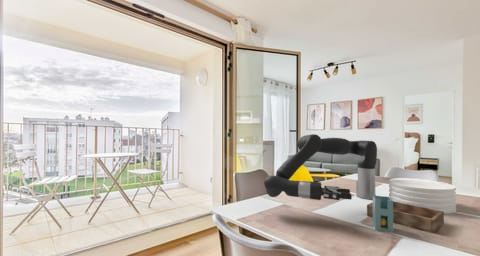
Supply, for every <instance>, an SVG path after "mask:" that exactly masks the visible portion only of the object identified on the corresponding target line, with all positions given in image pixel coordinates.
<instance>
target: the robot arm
mask: <svg viewBox="0 0 480 256" xmlns="http://www.w3.org/2000/svg"><path fill="white" fill-rule="evenodd" d="M296 143H297V148H298V149H299V151H297V152H296V153H294V154H293V155H292V156H290V157H289V158H287V159H285V161H284V162H283V163H282V164H281V165H280V166H279V167H278V169H277V170H276V172H275V175H269V176H267V177H265V179H264V182H263V184H264V187H265V192H266V194H267V196H269V197H271V198H277V197H278V196H280V195H281V194H282V193H285V194H286V196H288V197H292V198H301V199H306V200H314V201H315V200H316V201H321V200H322V197H323V199H324V200H325V199H328V200H335V201H340V200H343V199H344V200H352V197H353V196H352V193H351V189H349V188H342V187H339V186H332V185H324V187H323V186H322V182H320V181H308V180H292V177H293V176H294V175H295V174H296V172H297V171H298V170H299V169H300V168H301V167H302V166H303V164H305V163H306V162H307V161H308V160H309V159H310V158H312V157H313V156H314V155H315V154H316V153H322V154H331V155H338V156H339V155H340V156H343V155H347V154H352V155H356V156H360V157H364V160H362V161H359V162H358V163H357V179H356V180H355V183H356V184H355V186H356V187H355V190H356V193H355V196H356V197H358V198H361V199H366V200H373V195H374V196H377V195H376V194H377V193H376V165H377V157H378V147H377V143H376V142H375V141H374V140H349V139H346V138H343V137H342V138H341V137H327V138H326V137H324V138H321V137H320V136H319V134H307V135H303V136H301V137H299V139H298V140H297V142H296ZM290 179H291V180H290Z"/></svg>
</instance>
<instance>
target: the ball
mask: <svg viewBox="0 0 480 256" xmlns="http://www.w3.org/2000/svg"><path fill="white" fill-rule="evenodd" d="M386 225H387V221H386V220H385V219H384V218H381V226H386Z"/></svg>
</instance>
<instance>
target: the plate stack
mask: <svg viewBox="0 0 480 256" xmlns="http://www.w3.org/2000/svg"><path fill="white" fill-rule="evenodd" d="M388 183H389V184H388V188H389V189H388V192H389V193H388V194H389V196H388V197H390V198H391V199H392V200H393V201H394V202H399V203H404V204H409V205H414V206H419V207H424V208H429V209H434V210H439V211H444V214H453V213H456V212H457V202H456V201H457V197H456V196H457V192H456V190H457V188H456V186H455V185H453V184H450V183H446V182H442V181H438V180H437V181H436V180H430V179H421V178H410V177H408V178H407V177H404V178H403V177H399V178H398V177H397V178H390V179H389V180H388Z"/></svg>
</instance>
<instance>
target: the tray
mask: <svg viewBox="0 0 480 256" xmlns="http://www.w3.org/2000/svg"><path fill="white" fill-rule="evenodd" d="M444 214H445V213H444V211H439V210H434V209H429V208H424V207H419V206H414V205H409V204H404V203H399V202H394V201H393V224H396V225H401V226H404V227H409V228H411V229H416V230H419V231H423V232H427V233H430V234H436V232H437V231H438V230H439V229H441V228H442V226H443V225H444V224H445V215H444ZM366 217H370V218H373V202H370V203H368V204H367V205H366Z"/></svg>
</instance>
